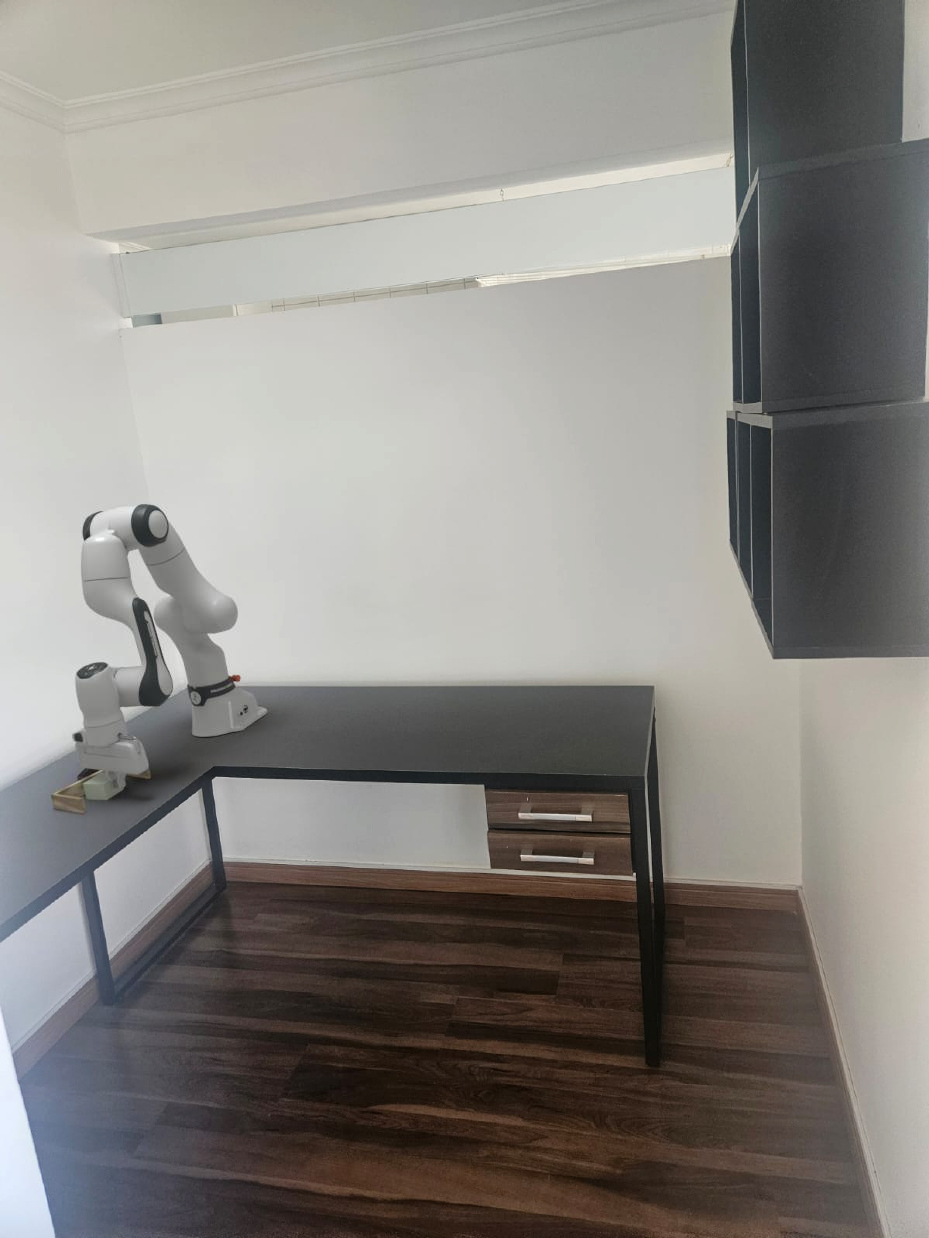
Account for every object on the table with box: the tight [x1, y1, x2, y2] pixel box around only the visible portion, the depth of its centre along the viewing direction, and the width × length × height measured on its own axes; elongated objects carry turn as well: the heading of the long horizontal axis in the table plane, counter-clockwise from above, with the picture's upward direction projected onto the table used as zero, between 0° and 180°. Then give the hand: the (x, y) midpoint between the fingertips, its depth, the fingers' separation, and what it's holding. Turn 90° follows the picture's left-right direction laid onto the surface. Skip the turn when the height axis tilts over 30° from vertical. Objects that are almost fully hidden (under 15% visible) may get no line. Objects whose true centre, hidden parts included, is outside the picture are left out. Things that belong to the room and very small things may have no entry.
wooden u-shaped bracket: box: [50, 766, 152, 814], centre depth 208 cm, size 20×10×4 cm, turn 152°
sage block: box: [83, 773, 125, 801], centre depth 207 cm, size 6×6×4 cm
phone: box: [76, 768, 100, 781], centre depth 226 cm, size 8×1×15 cm
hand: (119, 786), depth 205 cm, fingers closed
